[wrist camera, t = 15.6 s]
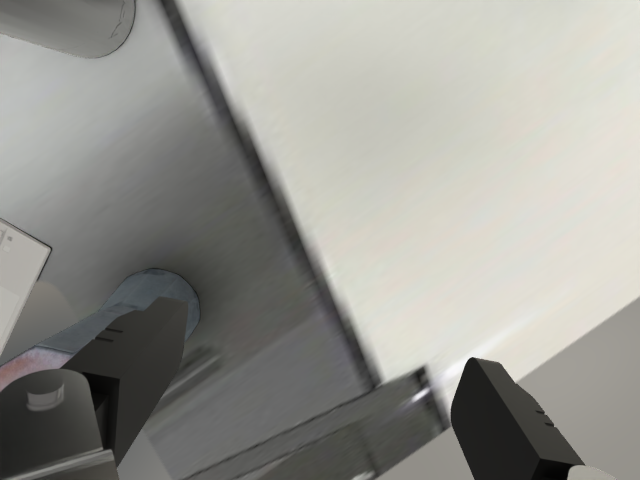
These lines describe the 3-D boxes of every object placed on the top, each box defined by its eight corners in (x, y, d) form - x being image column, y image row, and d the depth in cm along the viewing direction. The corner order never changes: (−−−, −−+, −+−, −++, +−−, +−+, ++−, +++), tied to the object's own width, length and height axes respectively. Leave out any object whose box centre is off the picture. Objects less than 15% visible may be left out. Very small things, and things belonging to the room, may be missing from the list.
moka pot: (234, 277, 40) (148, 409, 21) (167, 383, 44) (42, 578, 25) (152, 227, 39) (-18, 321, 20) (90, 341, 43) (-105, 513, 24)
